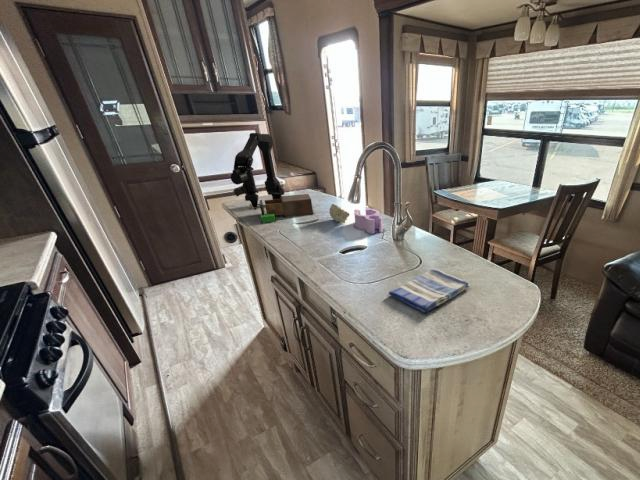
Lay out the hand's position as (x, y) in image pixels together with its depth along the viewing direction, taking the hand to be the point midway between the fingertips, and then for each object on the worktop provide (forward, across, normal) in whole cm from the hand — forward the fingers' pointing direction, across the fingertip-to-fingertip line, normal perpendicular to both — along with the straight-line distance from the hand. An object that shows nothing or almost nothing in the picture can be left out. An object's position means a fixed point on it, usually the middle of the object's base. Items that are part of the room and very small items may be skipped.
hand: (255, 209), depth 179 cm
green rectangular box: (+4, +11, +6) cm, 13 cm away
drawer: (+3, 0, +7) cm, 8 cm away
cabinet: (+4, 0, +22) cm, 23 cm away
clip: (+4, +39, +55) cm, 67 cm away
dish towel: (+4, +110, +56) cm, 124 cm away
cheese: (+4, +26, +44) cm, 51 cm away
